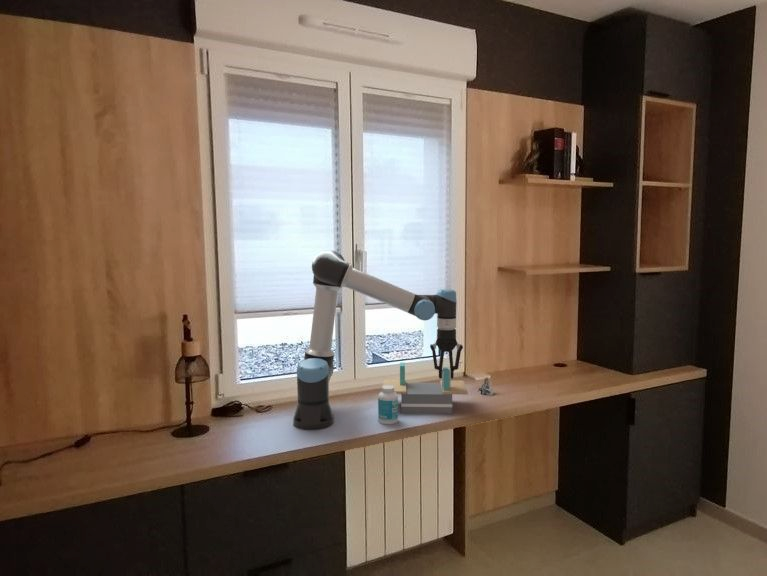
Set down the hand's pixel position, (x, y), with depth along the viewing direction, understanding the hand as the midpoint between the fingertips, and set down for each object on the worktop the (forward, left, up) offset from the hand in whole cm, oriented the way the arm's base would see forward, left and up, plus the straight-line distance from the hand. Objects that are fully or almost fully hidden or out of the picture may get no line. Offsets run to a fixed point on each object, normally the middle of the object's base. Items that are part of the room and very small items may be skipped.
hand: (445, 386), depth 203 cm
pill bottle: (-23, -13, -10) cm, 28 cm away
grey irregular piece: (+18, +22, -11) cm, 30 cm away
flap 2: (+3, +4, -2) cm, 5 cm away
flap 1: (-21, +4, -2) cm, 21 cm away
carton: (-8, +4, -10) cm, 13 cm away
